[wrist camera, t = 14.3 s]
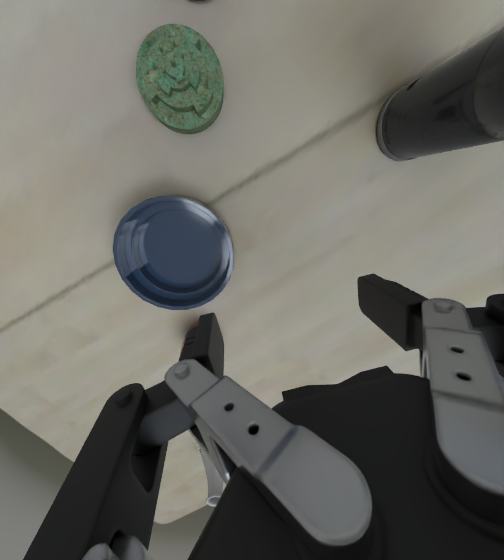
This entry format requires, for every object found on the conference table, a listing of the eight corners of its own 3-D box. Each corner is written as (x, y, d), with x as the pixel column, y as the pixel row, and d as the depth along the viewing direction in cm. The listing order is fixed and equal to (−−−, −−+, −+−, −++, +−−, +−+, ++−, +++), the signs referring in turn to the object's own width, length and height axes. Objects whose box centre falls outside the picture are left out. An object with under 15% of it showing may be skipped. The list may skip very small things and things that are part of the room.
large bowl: (217, 184, 34) (215, 183, 29) (242, 283, 40) (244, 295, 35) (110, 210, 34) (91, 212, 29) (151, 306, 40) (141, 320, 35)
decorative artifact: (234, 66, 30) (156, 20, 27) (236, 29, 23) (133, -35, 21) (208, 147, 32) (134, 111, 30) (203, 135, 26) (108, 88, 24)
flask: (214, 432, 51) (211, 484, 42) (239, 444, 54) (241, 497, 44) (194, 450, 53) (187, 505, 44) (219, 462, 55) (217, 517, 46)
